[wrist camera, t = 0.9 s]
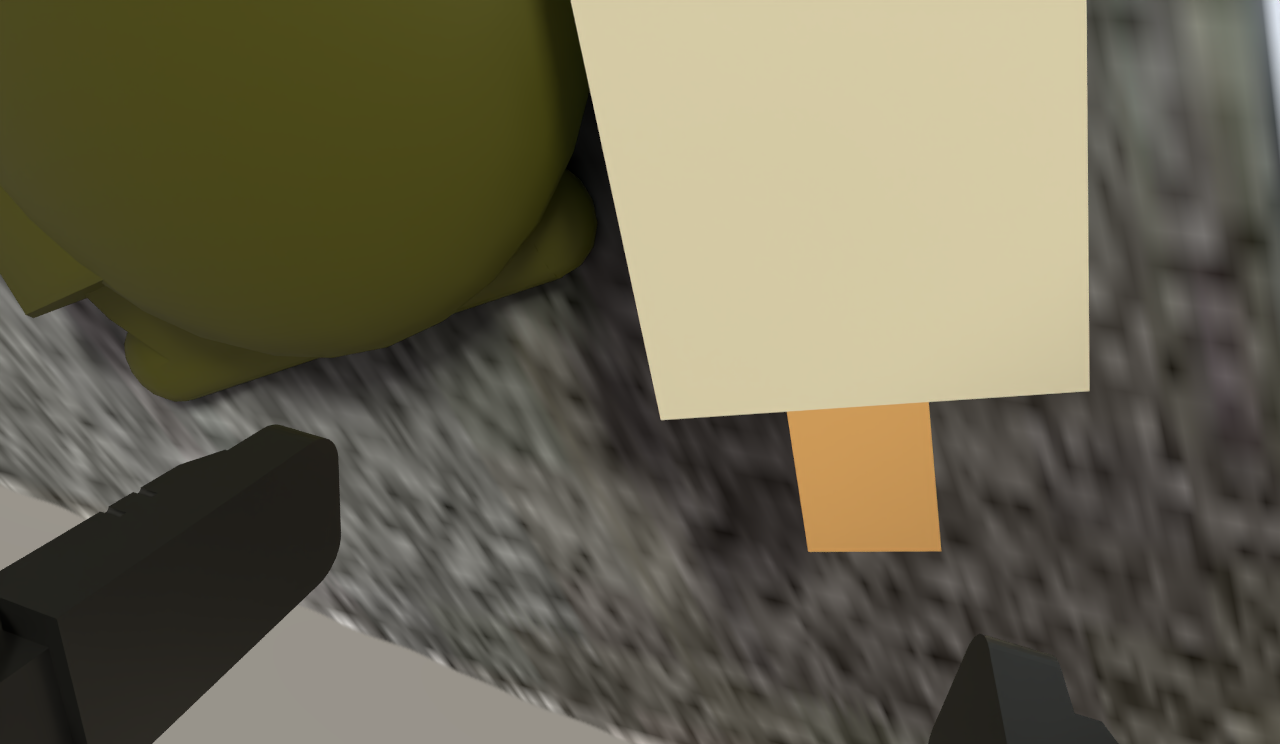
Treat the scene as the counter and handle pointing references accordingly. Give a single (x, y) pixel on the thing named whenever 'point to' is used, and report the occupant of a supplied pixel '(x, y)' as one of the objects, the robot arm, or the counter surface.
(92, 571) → the robot arm
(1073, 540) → the counter surface
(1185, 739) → the counter surface
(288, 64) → the spaceship
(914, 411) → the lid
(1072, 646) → the counter surface
